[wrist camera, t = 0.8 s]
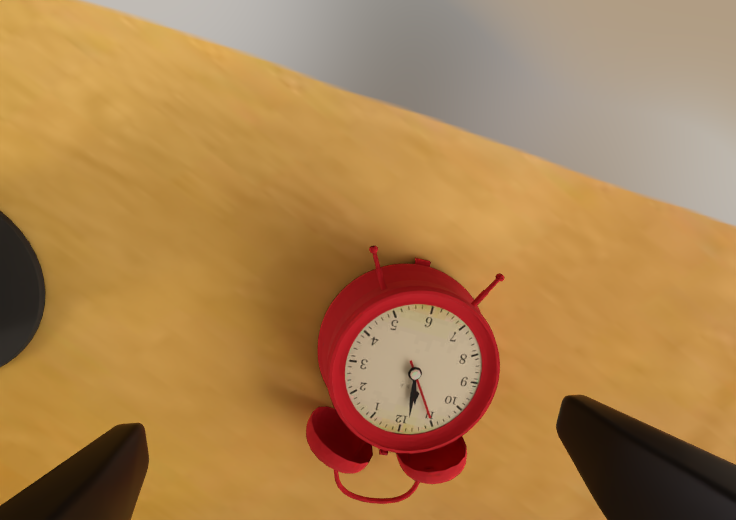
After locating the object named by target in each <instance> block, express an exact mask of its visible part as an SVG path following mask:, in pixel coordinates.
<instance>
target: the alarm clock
mask: <svg viewBox="0 0 736 520" xmlns="http://www.w3.org/2000/svg"><path fill="white" fill-rule="evenodd" d="M369 251H370V253H372V254H373V258H374V262H375V266H376V269H374V270H372V271H369V272H367V273H365V274H363V275H361V276H360V277H358V278H356V279H355V280H353V281H352V282H351V283H349V284H348V285H347V286H346V287H345V288H344V289H343V290H342V291H341V292H340V293H339V294H338V295H337V296H336V298H335V299H334V300H333V302H332V303H331V305H330V306H329V308H328V310H327V312H326V314H325V316H324V319H323V321H322V324H321V327H320V332H319V337H318V363H319V367H320V372H321V375H322V377H323V380H324V382H325V384H326V386H327V388H328V391H329V395H330V398H331V401H332V403H333V406H334V408H335V409H333V408H330V407H327V406H325V407H318V408H316V409H315V410H314V411H313V412H312V414H311V416H310V418H309V420H308V422H307V426H306V437H307V442H308V444H309V446H310V448H311V450H312V452H313V453H314V454H315V455H316V457H317V458H318V459H319V460H320V461H322V462H323V463H324V464H326V465H327V466H328V467H330V468H332V469H334V476H335V481H336V484H337V486H338V488H339V489H340V490H341V491H342V492H343V493H344V494H345V495H347V496H348V497H350V498H353V499H356V500H359V501H363V502H369V503H379V504H387V503H395V502H399V501H402V500H404V499H406V498H408V497H409V496H410V495H411V494H412V493H414V491H415V490H416V489H417V487H418V485H419V483H420V482H421V483H426V484H437V483H443V482H447V481H449V480H451V479H453V478H455V477H456V476H457V475H458V474H460V473H461V471H462V470H463V468H464V466H465V464H466V457H467V448H466V444H465V442H464V439H463V437H462V436H463V435H464V434H465V433H467V432H468V431H469V430H470V429H471V428H472V427H473V426H474V425H475V424H476V423H477V422H478V421H479V420H480V419H481V417H482V416H483V415H484V413H485V412H486V410H487V409H488V407H489V405H490V404H491V401H492V399H493V397H494V394H495V392H496V388H497V385H498V381H499V373H500V360H499V352H498V348H497V344H496V341H495V337H494V335H493V332H492V330H491V328H490V326H489V324H488V323H487V321H486V320H485V318H484V317H483V315H482V314H481V312H480V310H479V308H478V306H477V305H478V304H479V303H480V302H481V301H482V300H483V299H484V298H485V297H486V296H487V295H488V293H489V291H490V290H491V289H492V288H493V287H494V286H495V285H496V284H497V283H498V282H499V281H503V280H504V276H503V275H502V274H500V273H499V274H497V275H496V279H495V280H494V281H493V282H492V283H491V284H490V285H489V286H488V287H487V288H486V289H485V290H483V291H482V292H481V293H480V294H479V295H478V296H477V298H476V299H475V300H474V299H473V298H472V296H471V295H470V294H469V293H468V291H467V290H466V289H465V288H464V287H463V286H462V285H461V284H459V283H458V282H457V281H456V280H454V279H453V278H451V277H450V276H448V275H447V274H445V273H443V272H441V271H439V270H436V269H434V268H431V267H430V263H431V262H430V261H428V260H423V259H418V258H415V259H416V260H415V264H393V265H387V266H383V267H380V264H379V260H378V257H377V251H378V247H377V246H371V247H370V248H369ZM372 445H373V446H375V447H377V448H379V449H380V450H379V454H381V455H387V454H388V451H391V452H396V454H397V458H398V461H399V464H400V466H401V468H402V469H403V471H404V472H405V473H406V474H407V475H408V476H409V477H411V478H412V479H414V480H415V483H414V485H413V486H412V488H411V489H410V490H409V491H408V492H407V493H405V494H403V495H401V496H398V497H394V498H384V499H382V498H369V497H363V496H360V495H356V494H354V493H352V492H350V491H348V490H347V489H346V488H345V487H344V486H343V485H342V484H341V482H340V480H339V475H338V471H339V472H342V473H357V472H359V471H361V470H362V469H363V468H364V467H365V466H366V465H367V464H368V463H369V461H370V459H371V457H372V455H373V452H372Z"/></svg>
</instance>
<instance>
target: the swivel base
mask: <svg viewBox="0 0 736 520" xmlns="http://www.w3.org/2000/svg"><path fill="white" fill-rule="evenodd" d="M44 305H45V286H44V278H43V274H42V270H41V266H40V264H39V261H38V259H37V256H36V254H35V252H34V251H33V249H32V247H31V245H30V243H29V242H28V240H27V239H26V238H25V236H24V235H23V234H22V232H21V231H20V230H19V229H18V228H17V226H16V225H15V224H14V223H13V222H12V221H11V220H10V219H9V218H8V217H6V216H5V215H4V214H3V213H2V212H1V211H0V367H1V366H3V365H5V364H7V363H8V362H9V361H11V360H12V359H14V358H15V357H16V356H17V355H18V354H19V353H20V352H21V351H22V350H24V349H25V347H26V346H27V345H28V343H29V342H30V341H31V340H32V338H33V336H34V335H35V333H36V331H37V329H38V327H39V324H40V321H41V319H42V315H43V310H44Z"/></svg>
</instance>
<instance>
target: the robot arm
mask: <svg viewBox="0 0 736 520" xmlns="http://www.w3.org/2000/svg"><path fill="white" fill-rule="evenodd" d="M556 429H557V433H558V436H559V438H560V439H561V441H562V443H563V445H564V446H565V448H566V450H567V452H568V454H569V455H570V457H571V459H572V461H573V462H574V464H575V466H576V468H577V470H578V471H579V473H580V475H581V477H582V478H583V480H584V482H585V484H586V486H587V487H588V489H589V491H590V493H591V494H592V496H593V498H594V499H595V501H596V503H597V505H598V506H599V508H600V509H601V511H602V512H603V514H604V515H605V517H606V518H607V520H736V465H735V464H733V463H731V462H728V461H726V460H724V459H722V458H720V457H718V456H715V455H713V454H711V453H709V452H707V451H704V450H702V449H700V448H698V447H696V446H694V445H691V444H689V443H687V442H685V441H683V440H680V439H678V438H676V437H674V436H672V435H670V434H667V433H665V432H663V431H661V430H659V429H656V428H654V427H652V426H650V425H648V424H646V423H643V422H641V421H639V420H637V419H635V418H632V417H630V416H628V415H626V414H624V413H622V412H619V411H617V410H615V409H613V408H611V407H608V406H606V405H604V404H602V403H600V402H598V401H595V400H593V399H591V398H589V397H587V396H584V395H569V396H566V397H565V398H564V399H563V400H562V404H561V408H560V412H559V415H558V419H557V424H556ZM148 464H149V454H148V447H147V441H146V434H145V428H144V426H143V425H142V424H140V423H130V424H119V425H117V426H115V427H113V428H112V429H110V430H109V431H107V432H106V433H105V434H103V435H102V436H100V437H99V438H97V439H96V440H94V441H93V442H92V443H90V444H89V445H87V446H86V447H84V448H83V449H81V450H80V451H79V452H77V453H76V454H74V455H73V456H71V457H70V458H69V459H67V460H66V461H64V462H63V463H61V464H60V465H58V466H57V467H56V468H54V469H53V470H51V471H50V472H48V473H47V474H45V475H44V476H43V477H41V478H40V479H38V480H37V481H35V482H34V483H33V484H31V485H30V486H28V487H27V488H25V489H24V490H22V491H21V492H20V493H18V494H17V495H15V496H14V497H12V498H11V499H9V500H8V501H7V502H5V503H4V504H2V505H1V506H0V520H131V517H132V514H133V511H134V508H135V505H136V502H137V499H138V496H139V493H140V490H141V487H142V484H143V481H144V478H145V475H146V472H147V469H148Z"/></svg>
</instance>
